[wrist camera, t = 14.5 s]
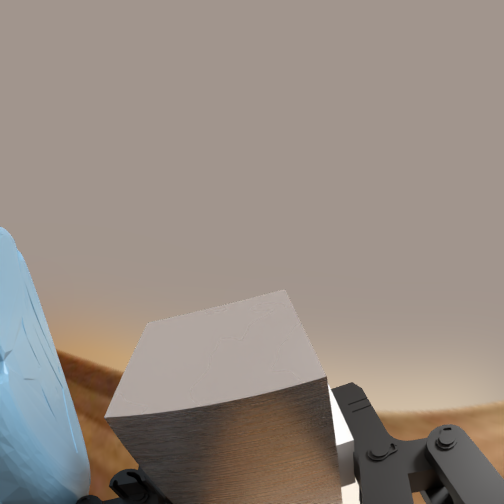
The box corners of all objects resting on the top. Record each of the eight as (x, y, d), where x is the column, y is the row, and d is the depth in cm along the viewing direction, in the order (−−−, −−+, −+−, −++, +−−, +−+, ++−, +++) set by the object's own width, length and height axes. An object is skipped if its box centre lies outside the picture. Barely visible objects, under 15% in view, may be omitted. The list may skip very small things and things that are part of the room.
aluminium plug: (264, 581, 9) (104, 417, 5) (257, 524, 13) (147, 322, 9) (346, 564, 9) (326, 376, 5) (330, 508, 13) (284, 288, 9)
